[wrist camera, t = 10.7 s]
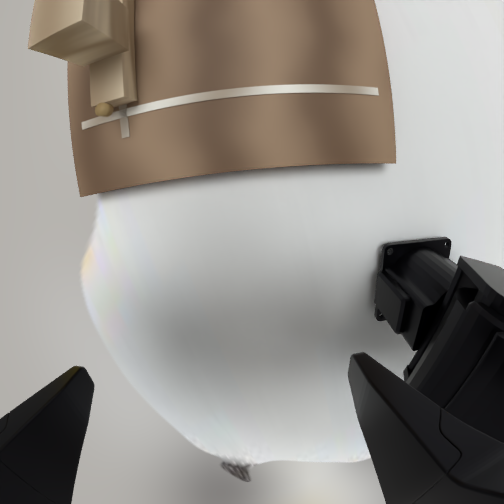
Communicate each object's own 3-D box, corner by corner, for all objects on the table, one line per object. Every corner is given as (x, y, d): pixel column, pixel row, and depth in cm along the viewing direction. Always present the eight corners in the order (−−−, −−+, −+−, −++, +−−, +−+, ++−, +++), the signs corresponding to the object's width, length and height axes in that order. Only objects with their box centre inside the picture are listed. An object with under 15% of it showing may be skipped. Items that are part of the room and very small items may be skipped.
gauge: (151, -38, 11) (110, -104, 2) (157, 115, 16) (83, 98, 7) (114, -26, 11) (60, -80, 2) (115, 125, 16) (25, 124, 7)
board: (356, -15, 12) (366, -27, 10) (382, 160, 17) (396, 163, 15) (83, 18, 12) (70, 10, 10) (94, 191, 18) (79, 197, 16)
